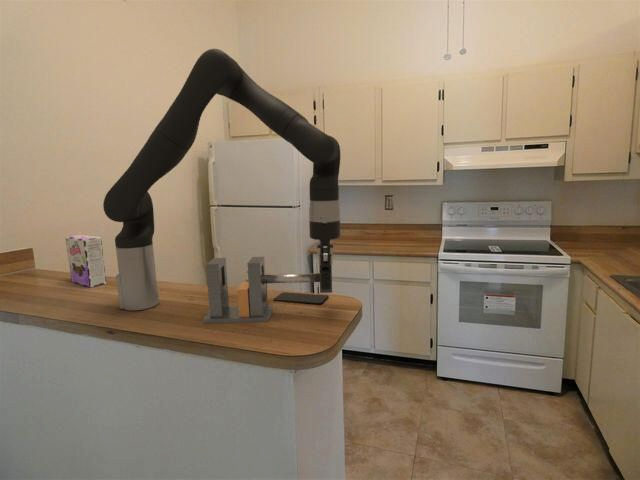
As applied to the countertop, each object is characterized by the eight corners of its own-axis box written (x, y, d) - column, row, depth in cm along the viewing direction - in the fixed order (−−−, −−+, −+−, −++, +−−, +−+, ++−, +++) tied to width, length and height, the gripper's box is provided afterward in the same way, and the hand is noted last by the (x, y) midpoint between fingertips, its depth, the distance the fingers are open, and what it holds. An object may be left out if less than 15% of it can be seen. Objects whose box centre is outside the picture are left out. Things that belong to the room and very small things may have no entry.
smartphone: (282, 292, 115) (329, 295, 111) (282, 295, 116) (330, 298, 111) (271, 299, 109) (321, 303, 104) (271, 302, 109) (321, 306, 104)
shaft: (259, 294, 95) (258, 267, 94) (261, 290, 98) (260, 264, 97) (332, 292, 95) (331, 265, 94) (331, 288, 98) (331, 262, 97)
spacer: (239, 317, 94) (237, 289, 93) (244, 307, 101) (243, 281, 100) (249, 316, 94) (247, 289, 93) (254, 306, 101) (252, 281, 100)
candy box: (70, 282, 135) (64, 236, 132) (88, 278, 139) (82, 233, 137) (89, 288, 127) (83, 239, 124) (107, 283, 132) (101, 236, 129)
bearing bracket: (203, 323, 94) (198, 265, 91) (213, 310, 103) (209, 257, 100) (268, 321, 93) (265, 263, 91) (273, 308, 102) (270, 255, 100)
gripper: (310, 215, 100) (311, 279, 103) (308, 222, 87) (310, 296, 90) (338, 215, 100) (339, 279, 103) (341, 222, 87) (342, 295, 90)
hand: (325, 286), depth 96 cm, fingers closed on shaft, 3 cm apart
